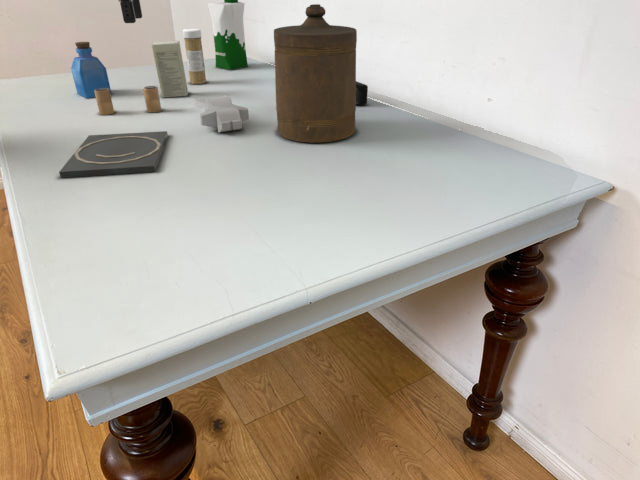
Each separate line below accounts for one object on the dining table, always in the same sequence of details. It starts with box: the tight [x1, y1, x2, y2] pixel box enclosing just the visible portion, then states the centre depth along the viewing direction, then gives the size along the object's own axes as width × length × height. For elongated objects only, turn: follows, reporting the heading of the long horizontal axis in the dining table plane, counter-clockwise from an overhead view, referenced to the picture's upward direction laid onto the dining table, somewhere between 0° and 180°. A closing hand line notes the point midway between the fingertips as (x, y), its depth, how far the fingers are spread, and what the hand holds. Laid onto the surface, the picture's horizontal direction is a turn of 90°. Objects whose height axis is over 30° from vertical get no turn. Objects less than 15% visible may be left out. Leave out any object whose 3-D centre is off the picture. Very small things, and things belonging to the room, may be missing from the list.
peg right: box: [142, 85, 162, 113], centre depth 105 cm, size 3×3×5 cm
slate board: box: [58, 130, 169, 179], centre depth 82 cm, size 14×18×1 cm
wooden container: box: [273, 3, 358, 144], centre depth 87 cm, size 15×15×22 cm
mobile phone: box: [356, 80, 369, 106], centre depth 112 cm, size 5×3×15 cm
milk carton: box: [207, 0, 249, 71], centre depth 144 cm, size 9×9×20 cm
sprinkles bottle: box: [182, 28, 207, 85], centre depth 127 cm, size 5×5×13 cm
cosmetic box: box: [151, 40, 189, 98], centre depth 115 cm, size 6×4×12 cm
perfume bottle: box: [70, 41, 113, 99], centre depth 117 cm, size 6×6×12 cm
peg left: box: [94, 88, 115, 116], centre depth 103 cm, size 3×3×5 cm
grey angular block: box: [193, 94, 250, 133], centre depth 96 cm, size 10×5×15 cm
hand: (133, 20), depth 98 cm, fingers open, 8 cm apart
